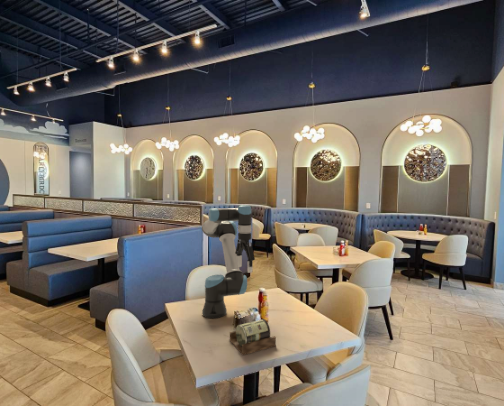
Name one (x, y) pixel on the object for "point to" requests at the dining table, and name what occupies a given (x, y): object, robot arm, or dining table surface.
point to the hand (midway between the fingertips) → (244, 269)
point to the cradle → (252, 344)
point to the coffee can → (252, 331)
